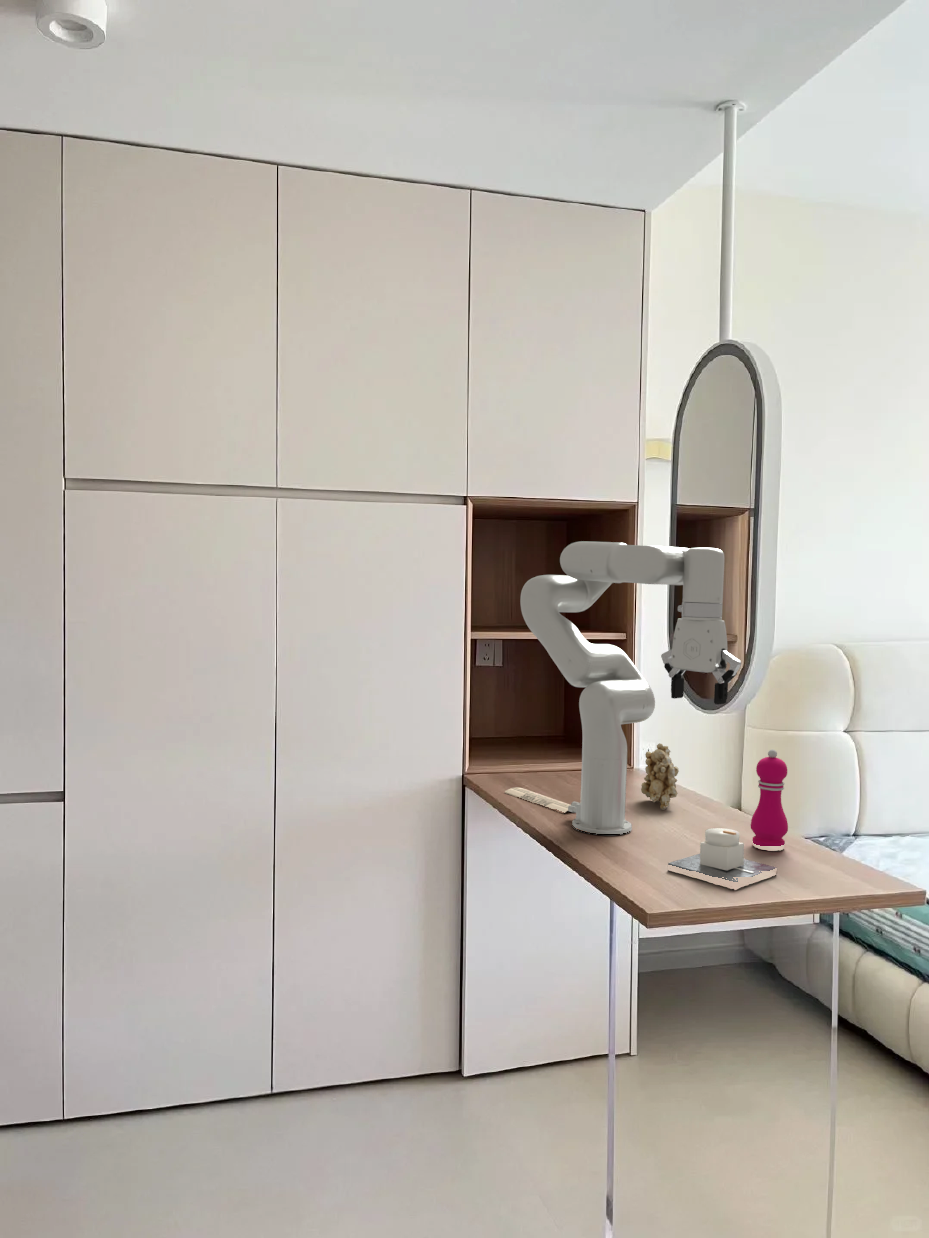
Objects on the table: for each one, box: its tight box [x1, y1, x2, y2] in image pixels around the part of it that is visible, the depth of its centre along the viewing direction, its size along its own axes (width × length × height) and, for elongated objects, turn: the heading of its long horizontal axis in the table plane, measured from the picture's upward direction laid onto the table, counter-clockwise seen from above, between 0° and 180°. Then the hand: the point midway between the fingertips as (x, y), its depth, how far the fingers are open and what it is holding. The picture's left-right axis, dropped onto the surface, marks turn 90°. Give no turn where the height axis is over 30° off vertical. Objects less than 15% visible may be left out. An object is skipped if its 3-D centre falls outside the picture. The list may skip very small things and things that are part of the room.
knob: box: [699, 827, 745, 870], centre depth 179 cm, size 6×6×6 cm
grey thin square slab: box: [667, 853, 778, 882], centre depth 179 cm, size 14×14×5 cm
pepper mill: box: [750, 749, 789, 846], centre depth 197 cm, size 7×7×20 cm
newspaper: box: [504, 787, 571, 814], centre depth 231 cm, size 24×7×2 cm, turn 32°
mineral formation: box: [640, 743, 680, 811], centre depth 231 cm, size 8×13×15 cm, turn 6°
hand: (698, 700), depth 188 cm, fingers open, 9 cm apart
